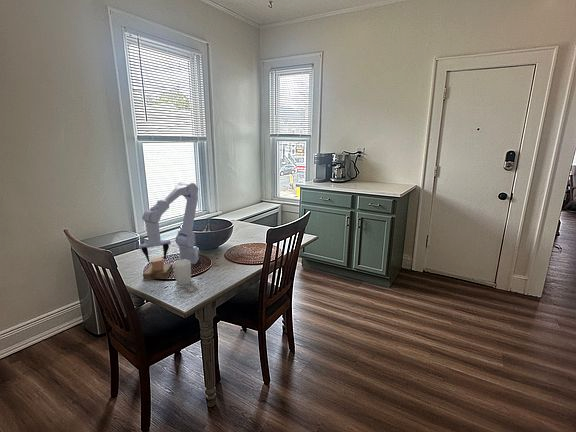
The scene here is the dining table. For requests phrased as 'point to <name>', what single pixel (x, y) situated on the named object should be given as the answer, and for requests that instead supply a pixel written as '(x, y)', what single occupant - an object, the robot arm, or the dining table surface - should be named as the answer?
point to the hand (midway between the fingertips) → (156, 260)
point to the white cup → (182, 271)
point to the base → (158, 272)
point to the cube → (157, 264)
